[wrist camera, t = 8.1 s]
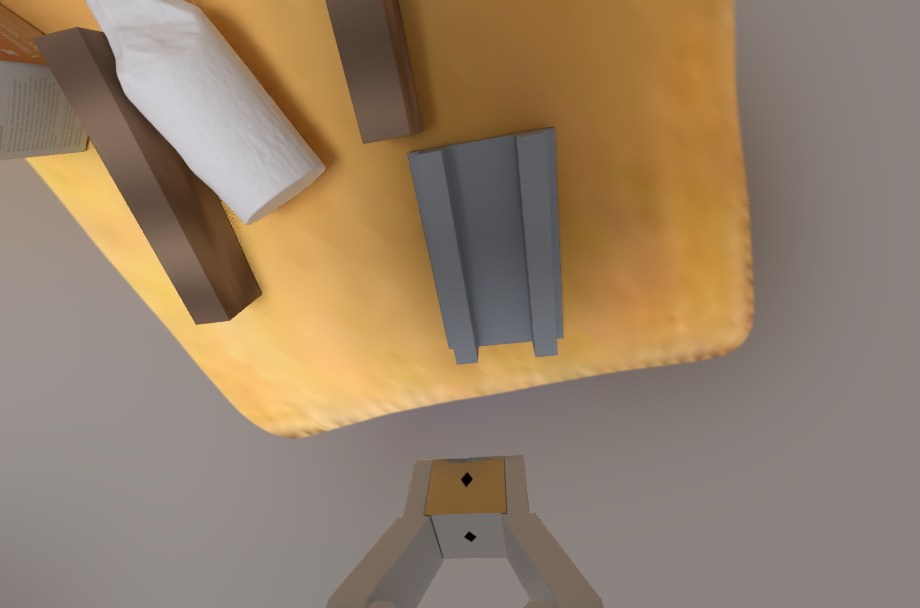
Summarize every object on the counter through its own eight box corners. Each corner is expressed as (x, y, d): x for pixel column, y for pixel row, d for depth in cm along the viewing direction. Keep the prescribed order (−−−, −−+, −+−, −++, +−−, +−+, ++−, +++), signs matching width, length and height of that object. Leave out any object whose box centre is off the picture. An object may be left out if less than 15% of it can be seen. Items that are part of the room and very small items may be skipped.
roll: (183, -47, 19) (75, -102, 14) (339, 161, 23) (299, 175, 18) (119, 34, 21) (4, 10, 16) (275, 213, 25) (222, 238, 20)
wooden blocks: (98, 29, 21) (17, 12, 17) (389, -44, 18) (366, -81, 15) (232, 297, 28) (196, 324, 25) (449, 270, 26) (443, 295, 22)
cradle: (410, 152, 22) (400, 157, 20) (551, 127, 21) (561, 129, 19) (450, 342, 29) (446, 365, 26) (561, 330, 28) (568, 354, 25)
